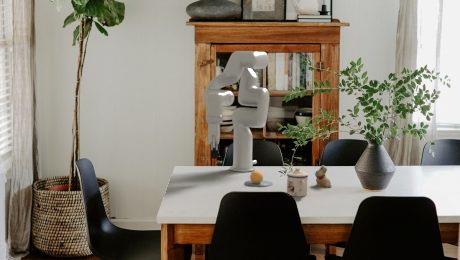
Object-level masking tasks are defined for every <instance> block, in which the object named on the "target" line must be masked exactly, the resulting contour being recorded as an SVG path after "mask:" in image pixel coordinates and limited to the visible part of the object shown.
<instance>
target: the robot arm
mask: <svg viewBox="0 0 460 260" xmlns="http://www.w3.org/2000/svg"><path fill="white" fill-rule="evenodd" d="M269 59H270V58H269V55H268V53H267V52H265V51H251V50H236V51H233V52H232V53H231V55H230V57H229V59H228V61H227V63H226V66H225V68H224V70H223V71H222V72H221V73H220V74H217V75H216V76H215V77H213V78H212V79H211V80H209V82H208V84H207V86H206V88H205V90H204V92H203V97H202V98H203V103H205V112H206V113H205V123H206V124H208V125H207V144H208V145H211V147H210V148H211V149H210V159H216V160H217V159H219V149H218V148H219V146H218V145H219V143H220V139H221V138H220V137H221V136H220V135H221V124H222V123H223V122H224V119H223V108H224V107H229V106H231V105H233V103H234V102H235V95H234V93H233V92H232V91H231V90H228V89H222V88H225V87H228V86H230V85H231V86H232V85H234V84H236V83H238V82H239V88H238V94H237V95H238V96H237V101H238V103H239V104H240V105H241V106H248V107H237V108H235V109H233V111H232V113H231V119H232V120H231V121H232V126H233V157H232V158H233V160H232V161H233V162H232V165H231V166H230V168H229V169H230V171H234V172H242V173H247V172H254V171H256V168H255V167H256V166H253V165H256V164H257V163H258V162H257V160H256V159H254V160H253V133H252V131H251V129H250V128H258V129H262V128H265V126H266V123H267V120H268V113H269V106H270V92H269V90H268V89H267V88H265V87H260V86H259V87H257V85H258V84H257V83H258V76H257V74H256V72H255V71H254V70H263V69H266V67H268V65H269V62H270V61H269ZM250 106H251V107H252V108H251V107H250ZM253 107H257V108H253Z"/></svg>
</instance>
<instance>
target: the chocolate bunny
mask: <svg viewBox="0 0 460 260" xmlns="http://www.w3.org/2000/svg"><path fill="white" fill-rule="evenodd" d="M327 171H328V168H327V167H326V166H325V165H324V164H323V165H321V166H320V168H318V169H317V170H316V171H315V172H314V175H315V178H316V179H315V182H316V186H318V187H320V188H327V189H328V188H332V182H331V179H329V177H327V176H326V173H327Z"/></svg>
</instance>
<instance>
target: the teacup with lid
mask: <svg viewBox="0 0 460 260" xmlns="http://www.w3.org/2000/svg"><path fill="white" fill-rule="evenodd" d="M286 177H287V181H286V183H287V184H286V190H287V191H286V194H287V193H289V194H291V195H292V196H291V197H305V196H307V194H308V179H309V178H308V177H309V174H308V173H307V172H305V171H304V170H301V168H300V167H296V168H295V169H293V170H291V171H288V172H287V174H286Z"/></svg>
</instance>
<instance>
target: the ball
mask: <svg viewBox="0 0 460 260" xmlns="http://www.w3.org/2000/svg"><path fill="white" fill-rule="evenodd" d="M249 179H250V180H249V181H252V182H253V183H255V184H259V183H261V182H262V180H263V181H264V175H263V173H262V172H261V171H259V170H254V171H251V173H250V175H249Z"/></svg>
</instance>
